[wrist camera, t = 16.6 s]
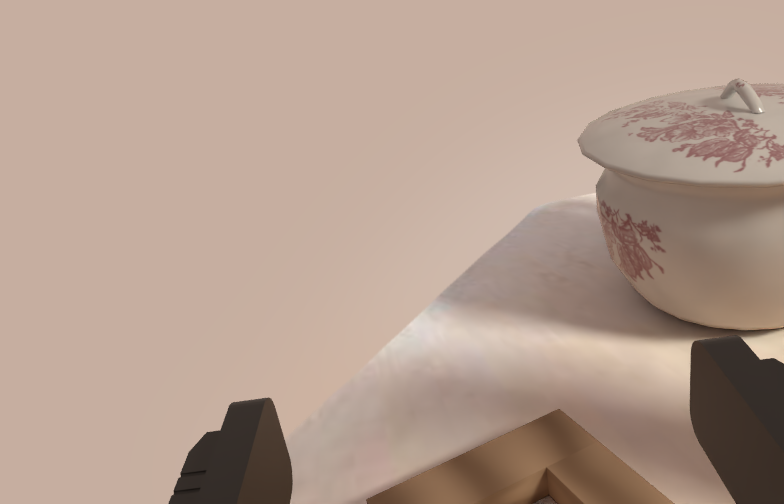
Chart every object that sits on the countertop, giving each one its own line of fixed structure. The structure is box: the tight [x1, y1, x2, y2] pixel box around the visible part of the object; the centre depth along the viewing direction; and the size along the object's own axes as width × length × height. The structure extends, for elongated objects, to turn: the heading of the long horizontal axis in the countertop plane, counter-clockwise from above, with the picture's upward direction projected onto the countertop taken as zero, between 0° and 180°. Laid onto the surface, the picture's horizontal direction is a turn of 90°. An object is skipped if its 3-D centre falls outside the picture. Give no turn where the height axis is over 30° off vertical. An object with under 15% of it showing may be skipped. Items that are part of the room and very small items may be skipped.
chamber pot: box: [578, 79, 784, 330], centre depth 62 cm, size 28×28×21 cm
